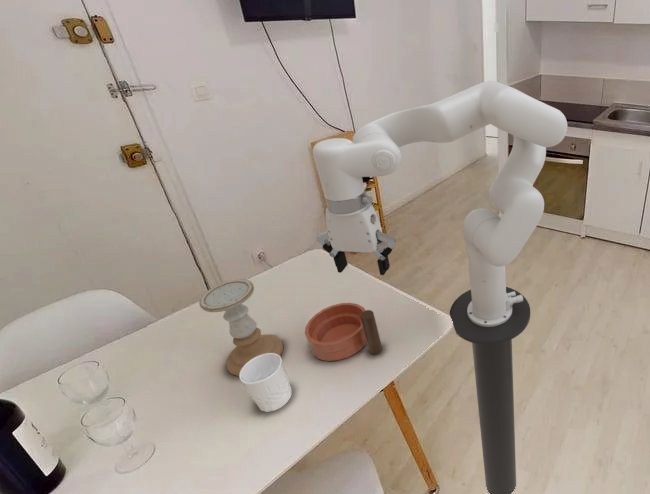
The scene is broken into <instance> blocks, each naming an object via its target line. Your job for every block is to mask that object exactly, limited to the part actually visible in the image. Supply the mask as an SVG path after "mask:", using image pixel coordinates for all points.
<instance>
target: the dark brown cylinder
mask: <svg viewBox="0 0 650 494" xmlns="http://www.w3.org/2000/svg"><path fill="white" fill-rule="evenodd" d="M365 310H366V309H365ZM360 318H361V321H362V325H363V329H364V332H365V336H366V340H367V343H366V344H367V347H368V351H369V353H370V355H372V356H377V355H380V354H381V353H382V351H383V346H382V342H381V338H380V337H381V336H380V333H379V330H378V325H377V322H376V318H375V314H374V311H373V310H370V309H367V310H366V311H364V312H362V313H361V315H360Z"/></svg>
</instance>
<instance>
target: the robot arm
mask: <svg viewBox="0 0 650 494" xmlns="http://www.w3.org/2000/svg"><path fill="white" fill-rule="evenodd" d="M489 125H491V126H493V127H495V128H497V129H499V130H501V131H502V132H504V133H508V134H509V135H512V136H513V143H512V147H511V151H510V153H509V155H508V157H507V159H506V161H505V162H504V164H503V166H502V167H501V168H500V171H499V172H498V173H497V175H496V177H495V179H494V180H493V181H492V184H491V186H490V187H489V190H488V194H487V196H488V199H489V202H490V203H491V205H492V206H493V207H494V208H495V209H496V210H497V211H499V213H501V214H502V216H501V217H500V216H499V215H498V214H497V213H495V212H494V211H493V210H491V209H489V208H484V207H479V208H475V209H473V210H472V211H470V212H469V213H468V214H467V215H466V216H465V218H464V220H463V223H462V235H463V236H462V237H463V241H464V244H465V248H466V249H465V250H466V253H467V261H468V273H469V283H470V284H469V285H470V290H471V296H472V301H471V302H470V304H469V305H468V308H467V313H468V317H469V319H470V320H471V321H472V322H473V323H475V324H477V325H479V326H483V327H493V326H498V325H500V324H502V323H504V322H506V321H507V320H508V319H509V318H510V316H511V314H512V305H513V303H519V302H522V301H523V296H524V295H523V294H522V295H523V296H522V295H518V296H516V293H515V291H514V292H510V293H506V287H507V280H506V277H507V276H506V266H507V265H509V264H510V263H512V262H513V261H514V260H515V259H516V258H517V257H518V256H519V254H520V252H522V250H523V248H524V247H525V245H526V244H527V242H528V240H529V238H530V237H531V236H532V234H533V233H534V231H535V230H536V228H537V226H538V224H539V223H540V221H541V219H542V217H543V214H544V211H545V200H544V197H543V195H542V193H541V192H540V191H539V190H538V188H536V187H534V184H535V182H536V180H537V178H538V176H539V175H540V173H541V171H542V169H543V167H544V165H545V161H546V158H547V157H546V156H547V148H551V147H555V146H557V145H559V144H560V143H561V142H562V141H563V140H564V139H565V137H566V135H567V133H568V121H567V118H566V115H564V113H563V112H562V111H561V110H560V109H558V108H556V107H553V106H551V105H549V104H547V103H545V102H543V101H540V100H538V99H536V98H535V97H532V96H530V95H528V94H526V93H525V92H523V91H520V90H519V89H517V88H515V87H513V86H509V85H507V84H505V83H501V82H500V81H499V82H498V81H496V80H486V81H483V82H480V83H478V84H475V85H473V86H470V87H468V88H466V89H463V90H461V91H459V92H456V93H454V94H452V95H450V96H448V97H445V98H442V99H441V100H438V101H436V102H433V103H429V104H424V105H420V106H416V107H412V108H407V109H403V110H399V111H395V112H392V113H389V114H386V115H384V116H382V117H380V118H377V119H375V120H373V121H370V122H368V123H366V124H364V125H363V126H361V127H360V128H359V129H357V131H356V132H355V133H354V134H353V136H352V140H351V139H348V138H343V137H334V138H327V139H324V140H321V141H319V142H317V143H316V144H315V145H314V146H313V147H312V156H313V160H314V163H315V167H316V171H317V174H318V178H319V182H320V186H321V189H322V192H323V197H324V199H325V200H324V201H325V204H326V208H325V224H326V230H325V231H324V232H322V233H320V234H319V235H318V236H316V241H317V242H318V243H319V245H321V246H322V249H323V250H325V251H326V252H327V253H328V254H329V256H330V258H333V261H334V265H335V267H336V270H337V273H341V274H342V273H343V271H344V270H345V269H346V268H347V267H348V265H349V263H348V260H347V256H346V252H347V253H366V254H370V253H371V254H373V255H374V256H375V257H376V258H377V261H376V262H377V266H378V271H379V275H380V276H385V274H386V273H387V271H388V270H389V269H390V260H389V256H390V254H391V253H392V251H393V250H394V249H395V246H396V244H397V240H398V239H396V238H395V237H394V236H391V235H389V234H387V233H385V232H383V229H382V225H381V222H380V219H379V216H378V214H377V212H376V209H375V207H374V205H373V202H374V201H373V197H372V196H368V195H367V191H366V189H365V186H364V179H363V178H371V177H385V176H389V175H392V174H393V173H395V172H396V171H397V170H398V169H400V166H401V164H402V161H403V160H402V158H403V155H402V152H401V149H400V148H401V147H404V146H407V145H410V144H414V143H420V142H421V143H422V142H427V143H428V142H430V143H439V144H444V143H452V142H455V141H457V140H459V139H461V138H463V137H466V136H467V135H469V134H472V133H473V132H476V131H478V130H480V129H482V128H484V127H485V128H486V126H489ZM383 243H385V244H386V246H385V245H384V244H383ZM514 296H515V297H514ZM511 297H512V298H511Z"/></svg>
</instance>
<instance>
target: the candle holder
mask: <svg viewBox="0 0 650 494" xmlns="http://www.w3.org/2000/svg"><path fill="white" fill-rule="evenodd" d="M254 291H255V285H254V283H253V282H252V281H250V280H249V279H246V278H245V279H243V278H238V279H230V280H227V281H224V282H222V283H218V284H216V285H214V286H213V287H211V288H209V289H208V290H207V291H205V292H204V293H203V294H202V296H201V297H200V299H199V307H200V309H202V310H203V311H204V312H206V313H222V312H224V313H223V315H222V318H223V320H224V321H226V322H228V329H229V330H228V331H229V335H230V337H232V344H233V345H234V346H235V348H234V349H233V350H232V351H230V353H229V355H228V357H227V359H226V362H225V363H226V365H225V366H226V369H227V371H228V372H229V373H230V374H231V375H232V376H237V377H239V374H240V371H241V369H242V368H243V366H244V365H245V364H246V363H247V362H249V361H250V360H251V359H253V358H255V357H257V356H259V355H262V354H266V353H275V354H278V355H279V356H280V357H281V356H282V354H283V352H284V342H283V340H282V339H281V338H280V337H279V336H277V335H275V334H262V330H261V329H260V328H259V327H258V326H257V325H258V324H257V322H256V320H255V319H254V318H253V317H251V316H250V314H249V306H247V305H245V304H243V303H245V302H246V301H248V300H249V299H250V298H251V297H252V296H253V294H254Z"/></svg>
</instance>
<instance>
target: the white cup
mask: <svg viewBox="0 0 650 494" xmlns="http://www.w3.org/2000/svg"><path fill="white" fill-rule="evenodd" d="M238 377H239V380H240V382H241V383H242V385H243V386H244V388H245V390H246V391H247V393H248V394H249V396H250V398H251V399H252V401H253V402H254V403H255V404H256V405H257V407H258V409H259V410H260V411H262V412H265V413H268V412H269V413H270V412H274V411H277V410H279V409H281V408H283V407H284V406H285V405H287V403H288V402H289V400H290V399H291V397H292V392H293V391H292V390H293V388H292V387H291V384H290V380H289V376H288V372H287V370H286V367H285V365H284V362H283V359H282V357H281V356H279V355H278V354H275V353H266V354H262V355H259V356H257V357H255V358H253V359H251V360H250V361H249V362H247V363H246V364H245V365H244V366H243V368H242V369H241V371H240V374H239V376H238Z"/></svg>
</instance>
